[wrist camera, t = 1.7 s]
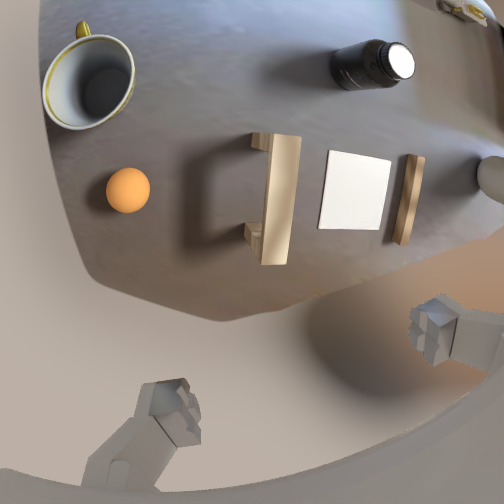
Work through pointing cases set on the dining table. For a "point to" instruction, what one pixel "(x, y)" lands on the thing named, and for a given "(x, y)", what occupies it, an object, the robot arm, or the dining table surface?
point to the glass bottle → (492, 177)
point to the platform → (453, 3)
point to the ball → (128, 190)
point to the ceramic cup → (88, 81)
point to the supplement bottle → (372, 65)
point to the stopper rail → (408, 199)
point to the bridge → (275, 198)
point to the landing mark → (354, 191)
